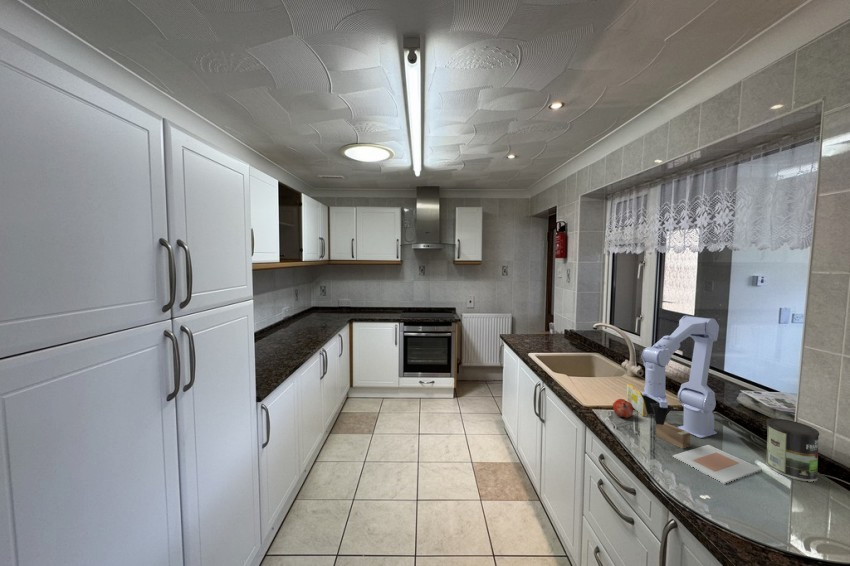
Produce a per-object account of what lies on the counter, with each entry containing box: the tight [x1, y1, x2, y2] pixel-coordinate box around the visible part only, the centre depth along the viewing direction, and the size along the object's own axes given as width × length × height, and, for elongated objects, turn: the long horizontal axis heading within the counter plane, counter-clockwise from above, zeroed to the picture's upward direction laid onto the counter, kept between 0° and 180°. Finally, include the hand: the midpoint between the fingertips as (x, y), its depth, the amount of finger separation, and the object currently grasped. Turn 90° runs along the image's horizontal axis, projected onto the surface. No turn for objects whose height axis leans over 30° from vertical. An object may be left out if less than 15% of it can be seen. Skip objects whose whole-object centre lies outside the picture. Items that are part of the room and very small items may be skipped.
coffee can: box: [766, 417, 820, 483], centre depth 95 cm, size 10×10×14 cm
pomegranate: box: [612, 398, 634, 419], centre depth 132 cm, size 7×7×10 cm
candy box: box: [625, 383, 648, 418], centre depth 139 cm, size 16×2×8 cm, turn 168°
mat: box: [672, 444, 763, 485], centre depth 99 cm, size 18×14×1 cm
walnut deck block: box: [655, 421, 691, 450], centre depth 112 cm, size 4×9×5 cm, turn 18°
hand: (655, 418), depth 111 cm, fingers open, 7 cm apart
